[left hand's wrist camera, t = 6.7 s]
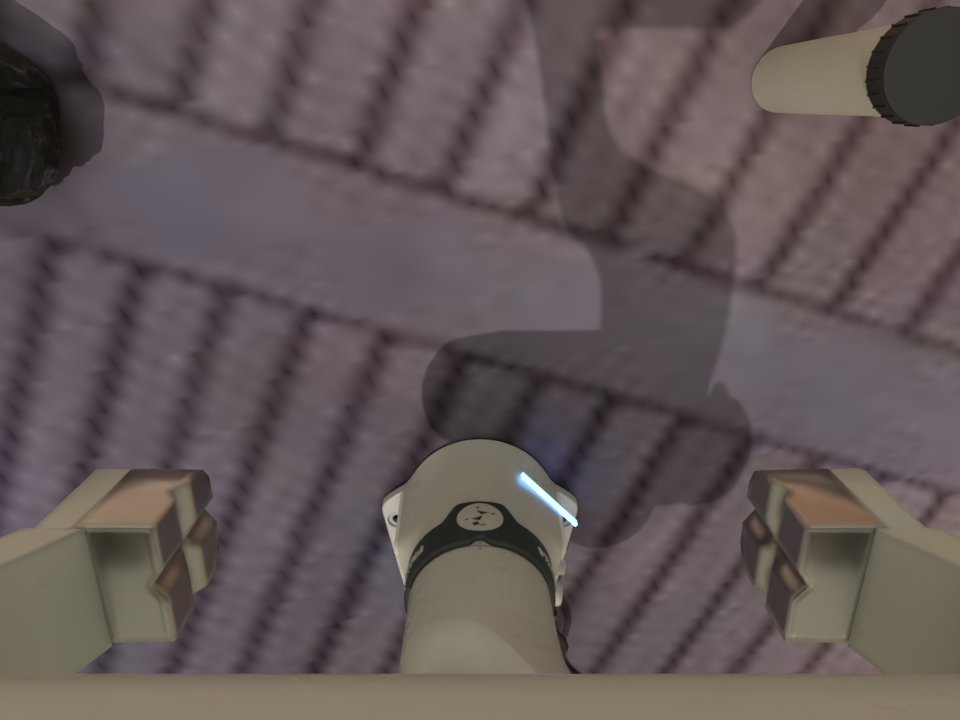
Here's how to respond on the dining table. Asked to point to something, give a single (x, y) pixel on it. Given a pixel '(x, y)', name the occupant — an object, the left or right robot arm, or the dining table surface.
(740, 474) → the dining table surface
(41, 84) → the rock
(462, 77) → the dining table surface
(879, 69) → the lid
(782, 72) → the cream cylinder
